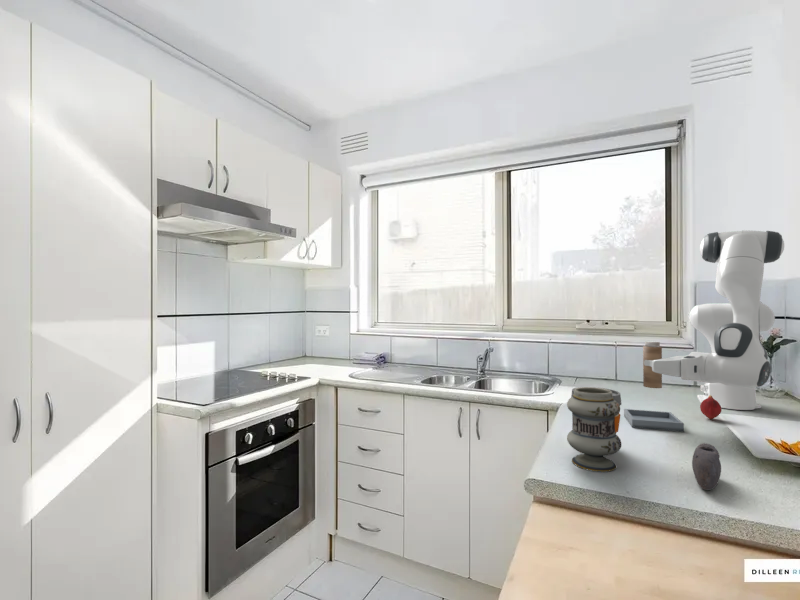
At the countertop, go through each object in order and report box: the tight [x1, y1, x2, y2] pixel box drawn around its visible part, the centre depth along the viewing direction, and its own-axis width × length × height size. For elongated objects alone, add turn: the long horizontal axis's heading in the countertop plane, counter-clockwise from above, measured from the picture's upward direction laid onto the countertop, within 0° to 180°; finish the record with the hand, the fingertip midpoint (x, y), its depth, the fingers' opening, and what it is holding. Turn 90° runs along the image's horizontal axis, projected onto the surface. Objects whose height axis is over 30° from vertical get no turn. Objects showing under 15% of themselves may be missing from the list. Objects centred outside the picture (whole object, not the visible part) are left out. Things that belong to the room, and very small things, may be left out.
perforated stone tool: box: [691, 442, 722, 491], centre depth 93 cm, size 15×5×7 cm, turn 142°
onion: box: [699, 395, 722, 420], centre depth 143 cm, size 6×6×8 cm
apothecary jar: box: [566, 386, 622, 473], centre depth 104 cm, size 12×12×18 cm
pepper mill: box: [642, 341, 663, 389], centre depth 138 cm, size 5×5×14 cm
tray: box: [623, 408, 685, 433], centre depth 138 cm, size 14×14×2 cm
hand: (649, 361), depth 139 cm, fingers closed on pepper mill, 5 cm apart
